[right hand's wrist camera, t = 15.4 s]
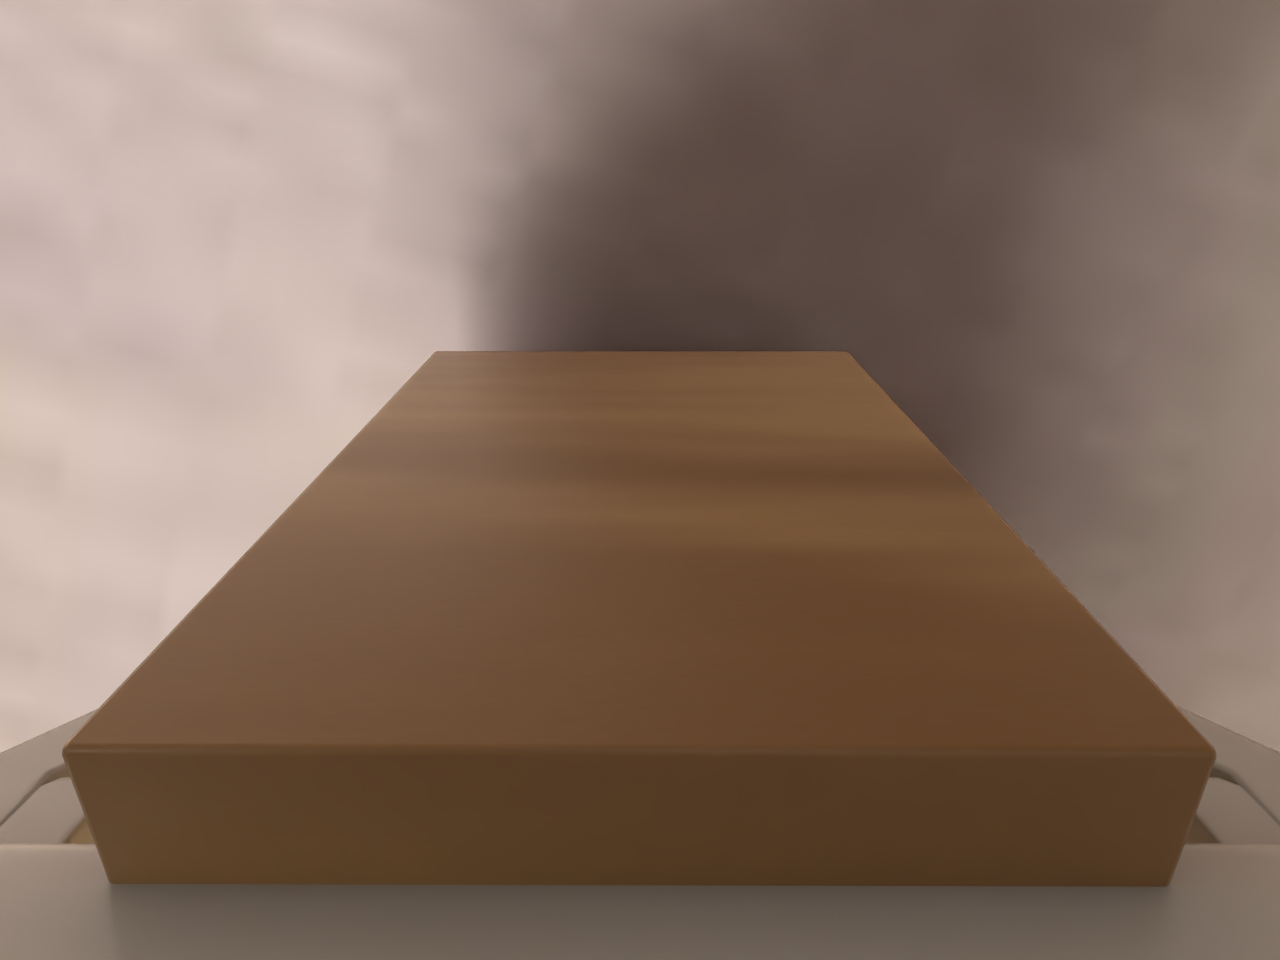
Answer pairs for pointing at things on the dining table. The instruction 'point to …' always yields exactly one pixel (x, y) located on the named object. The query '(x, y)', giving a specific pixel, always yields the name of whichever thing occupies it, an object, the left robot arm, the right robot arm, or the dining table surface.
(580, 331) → the dining table surface
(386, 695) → the box
